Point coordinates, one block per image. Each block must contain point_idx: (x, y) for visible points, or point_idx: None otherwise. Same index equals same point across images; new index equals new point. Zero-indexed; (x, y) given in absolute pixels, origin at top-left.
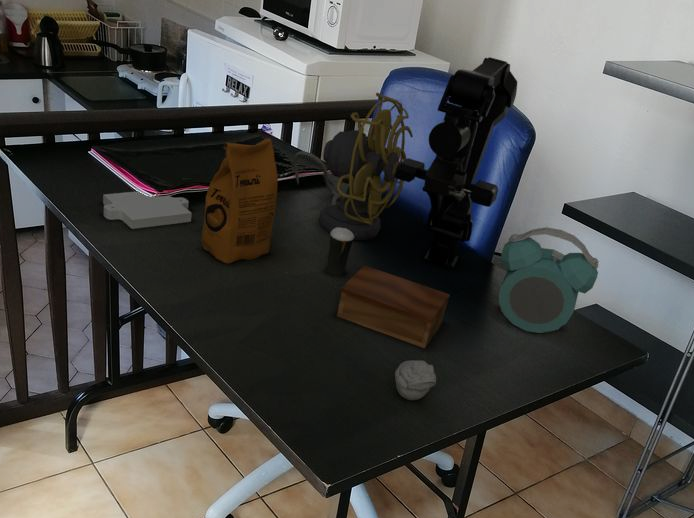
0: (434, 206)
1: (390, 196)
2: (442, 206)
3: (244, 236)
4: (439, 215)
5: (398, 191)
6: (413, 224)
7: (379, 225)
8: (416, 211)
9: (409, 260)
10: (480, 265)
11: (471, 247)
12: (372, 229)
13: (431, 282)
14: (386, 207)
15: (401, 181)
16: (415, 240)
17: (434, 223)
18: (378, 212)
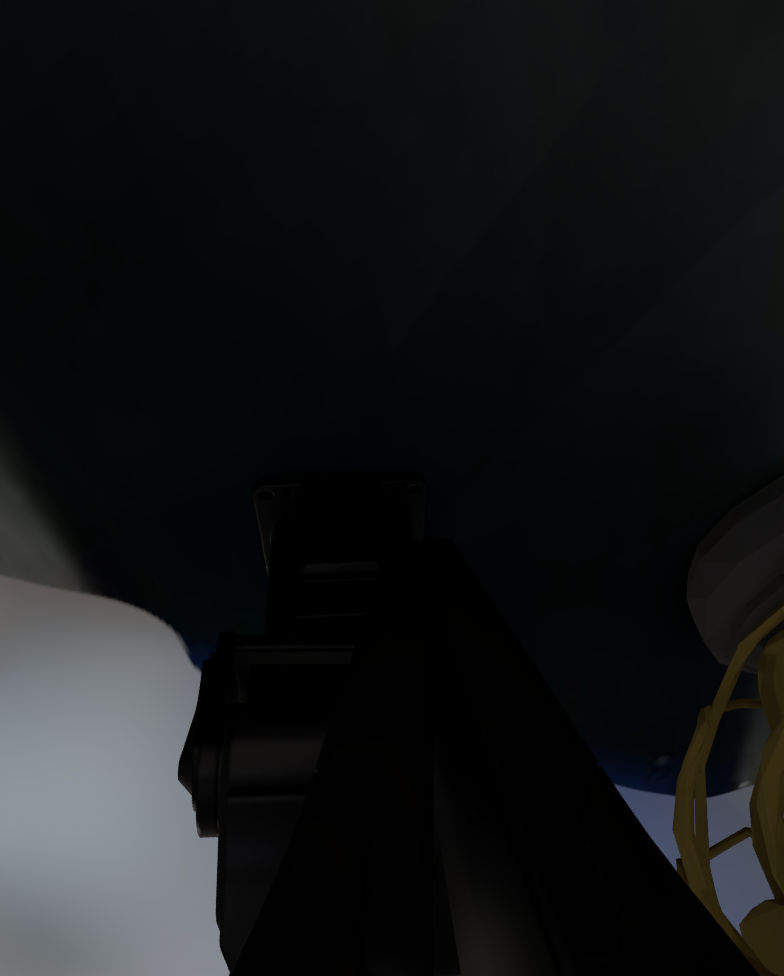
0: (562, 819)
1: (699, 774)
2: (397, 887)
3: None
4: (399, 680)
5: (689, 815)
6: None
7: (710, 599)
8: None
9: (500, 433)
10: (152, 585)
11: None
12: (754, 550)
13: (307, 247)
14: (707, 708)
15: (702, 878)
16: None
17: (434, 551)
18: (739, 666)
